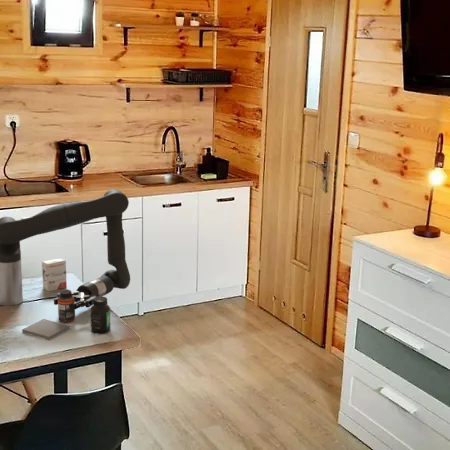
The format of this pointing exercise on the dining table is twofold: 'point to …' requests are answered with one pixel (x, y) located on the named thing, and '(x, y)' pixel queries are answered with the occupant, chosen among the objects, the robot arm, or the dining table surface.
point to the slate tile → (46, 329)
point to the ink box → (54, 274)
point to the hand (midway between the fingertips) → (63, 304)
